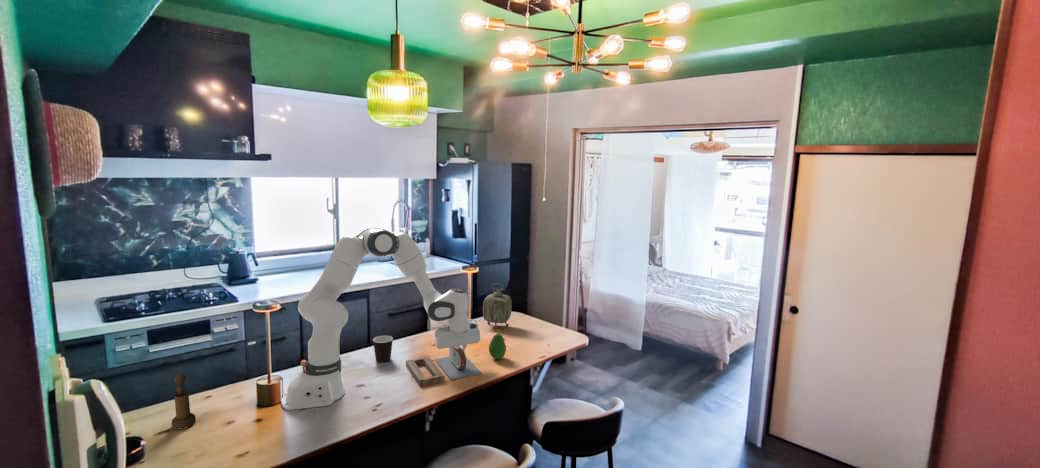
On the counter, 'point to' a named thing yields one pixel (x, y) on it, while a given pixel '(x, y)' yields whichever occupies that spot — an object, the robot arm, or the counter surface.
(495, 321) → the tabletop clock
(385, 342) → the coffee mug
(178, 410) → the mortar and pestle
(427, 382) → the frame
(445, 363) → the mat
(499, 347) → the avocado
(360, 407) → the counter surface
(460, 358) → the tin
